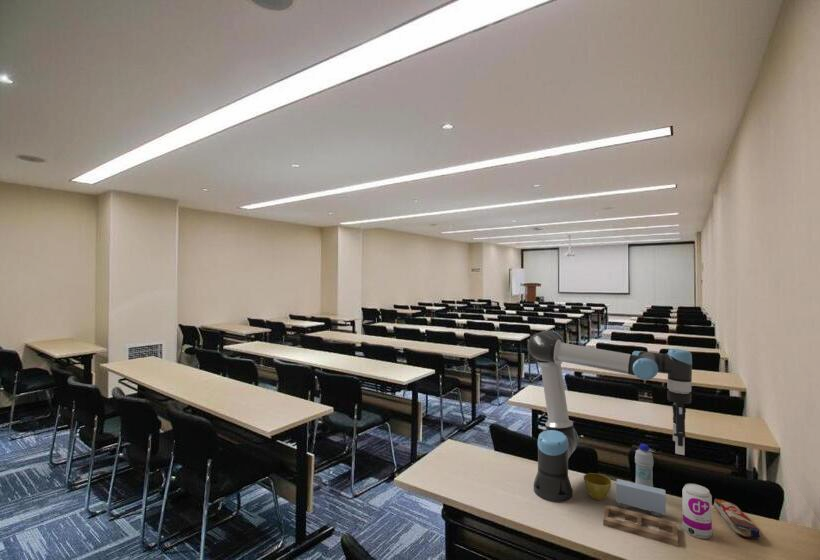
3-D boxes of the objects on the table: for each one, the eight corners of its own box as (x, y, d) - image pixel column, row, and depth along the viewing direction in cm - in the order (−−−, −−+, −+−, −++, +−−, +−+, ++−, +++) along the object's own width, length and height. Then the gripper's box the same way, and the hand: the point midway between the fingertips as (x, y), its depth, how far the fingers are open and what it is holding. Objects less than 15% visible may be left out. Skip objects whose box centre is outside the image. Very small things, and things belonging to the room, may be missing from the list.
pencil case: (748, 515, 148) (748, 501, 148) (763, 545, 131) (763, 530, 131) (711, 507, 153) (711, 493, 153) (721, 534, 136) (721, 520, 136)
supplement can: (713, 542, 131) (713, 497, 132) (683, 534, 136) (683, 490, 136) (710, 530, 138) (710, 486, 138) (681, 522, 143) (681, 480, 143)
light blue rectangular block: (616, 506, 152) (616, 483, 153) (617, 501, 156) (617, 478, 156) (665, 519, 144) (665, 495, 144) (665, 513, 148) (665, 489, 148)
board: (603, 524, 141) (603, 519, 141) (606, 509, 150) (606, 504, 150) (678, 546, 130) (677, 540, 130) (676, 528, 139) (676, 523, 139)
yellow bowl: (578, 493, 162) (578, 475, 163) (596, 488, 166) (596, 471, 166) (598, 505, 153) (598, 487, 153) (617, 500, 157) (617, 482, 157)
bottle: (656, 498, 159) (656, 448, 159) (638, 496, 160) (638, 446, 160) (649, 489, 165) (649, 441, 165) (632, 488, 166) (632, 440, 167)
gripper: (695, 401, 137) (694, 462, 137) (688, 385, 158) (687, 438, 158) (669, 397, 141) (668, 457, 141) (665, 382, 162) (664, 434, 162)
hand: (678, 447), depth 150 cm, fingers open, 13 cm apart
